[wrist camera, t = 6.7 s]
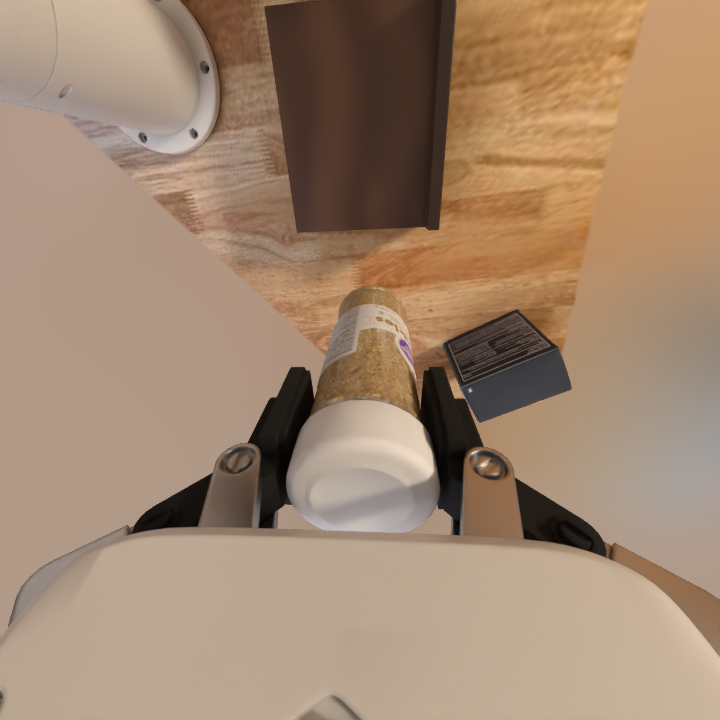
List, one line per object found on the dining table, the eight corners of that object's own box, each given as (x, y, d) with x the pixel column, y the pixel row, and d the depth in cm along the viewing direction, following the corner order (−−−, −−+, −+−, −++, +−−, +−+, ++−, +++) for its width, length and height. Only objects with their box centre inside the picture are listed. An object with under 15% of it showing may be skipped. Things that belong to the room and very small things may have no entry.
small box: (459, 377, 44) (478, 427, 35) (441, 343, 42) (457, 387, 33) (533, 346, 41) (575, 392, 32) (518, 307, 38) (560, 345, 29)
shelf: (307, 226, 35) (290, 236, 29) (283, 34, 27) (251, -13, 20) (428, 221, 34) (438, 229, 27) (441, 18, 26) (459, -38, 19)
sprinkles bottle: (419, 317, 20) (476, 510, 8) (370, 357, 22) (360, 560, 10) (373, 267, 18) (363, 417, 7) (323, 314, 20) (249, 497, 9)
